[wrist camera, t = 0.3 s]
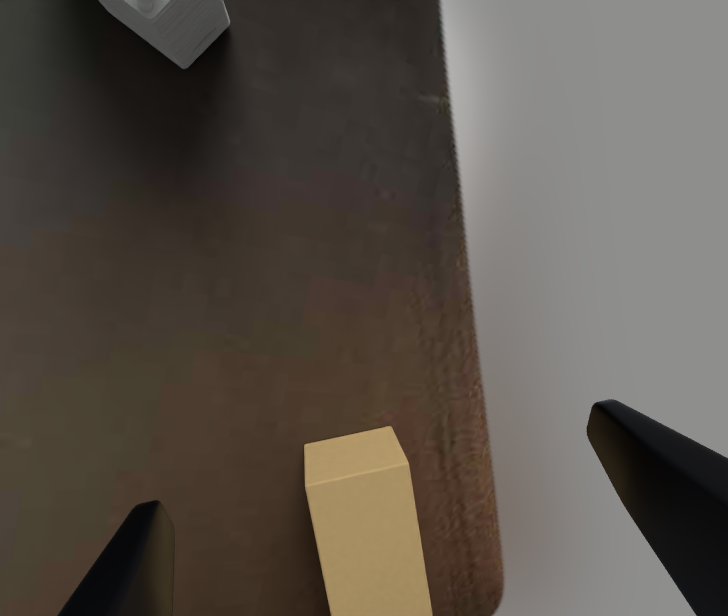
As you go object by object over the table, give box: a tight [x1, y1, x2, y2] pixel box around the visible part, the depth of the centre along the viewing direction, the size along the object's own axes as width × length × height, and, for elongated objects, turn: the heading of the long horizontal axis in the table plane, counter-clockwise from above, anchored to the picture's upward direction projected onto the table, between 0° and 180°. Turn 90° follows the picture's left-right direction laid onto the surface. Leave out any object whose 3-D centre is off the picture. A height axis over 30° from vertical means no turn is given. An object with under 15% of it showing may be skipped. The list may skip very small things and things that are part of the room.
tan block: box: [304, 426, 432, 616], centre depth 23 cm, size 8×5×4 cm, turn 9°
